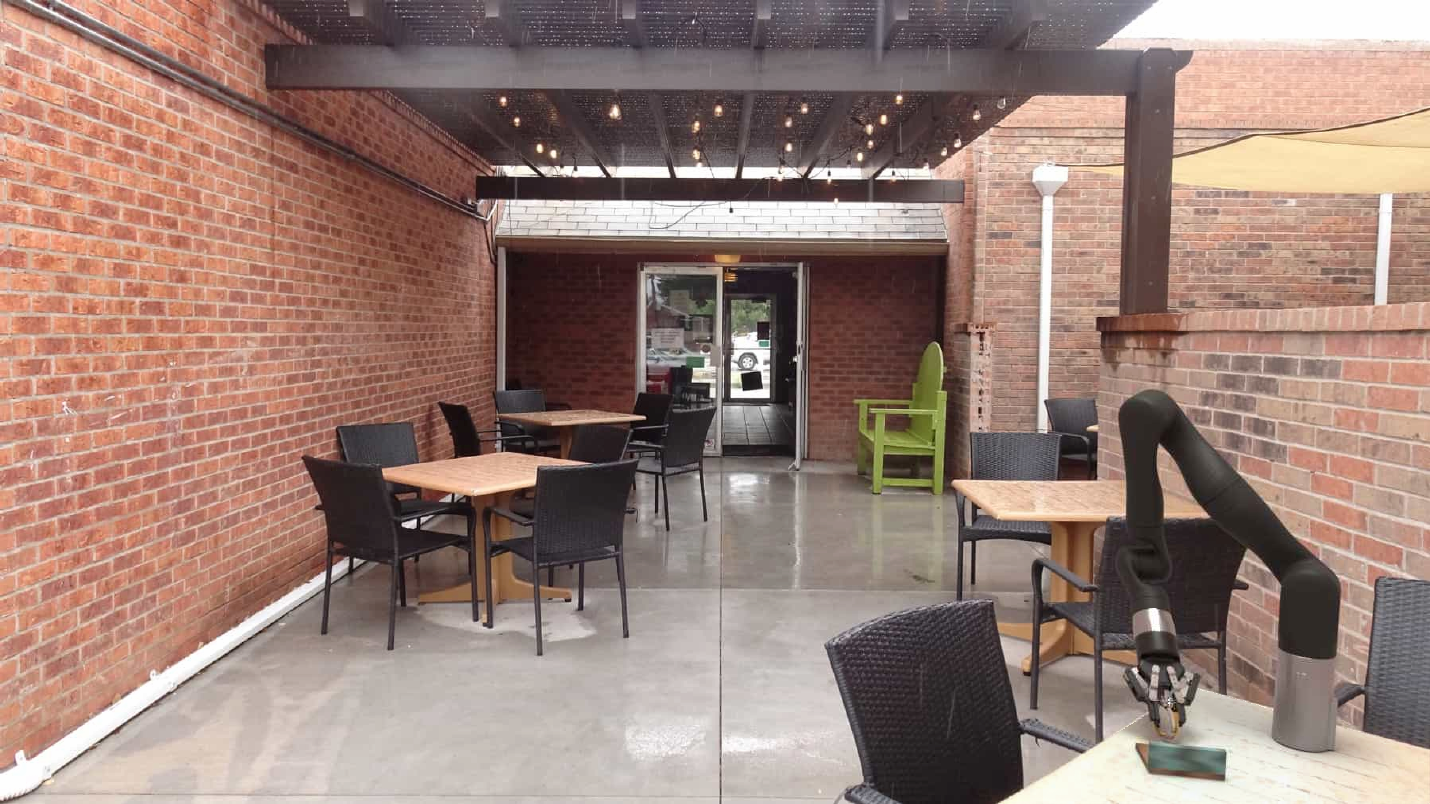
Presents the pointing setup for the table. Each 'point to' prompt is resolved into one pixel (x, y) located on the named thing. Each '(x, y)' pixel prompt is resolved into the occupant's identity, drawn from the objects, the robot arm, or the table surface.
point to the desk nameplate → (1183, 760)
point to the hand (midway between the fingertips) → (1168, 724)
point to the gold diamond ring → (1174, 718)
